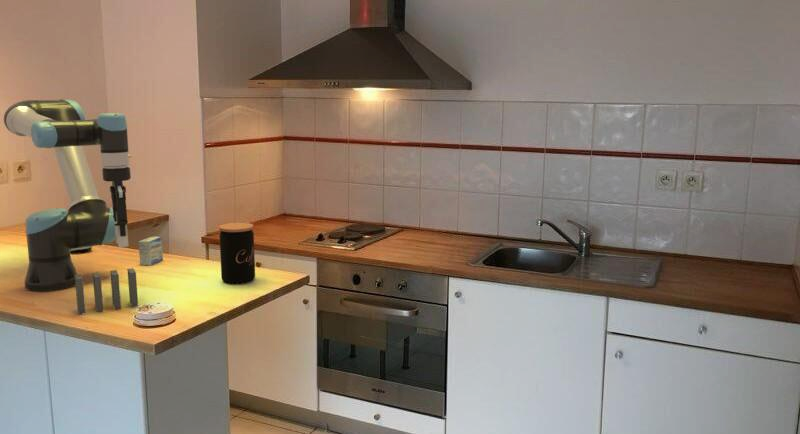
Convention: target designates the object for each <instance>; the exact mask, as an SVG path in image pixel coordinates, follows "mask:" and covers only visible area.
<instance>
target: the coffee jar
mask: <svg viewBox="0 0 800 434" xmlns="http://www.w3.org/2000/svg"><path fill="white" fill-rule="evenodd" d="M253 229H254V224H252V223H249V222H229V223H223V224H221V225H219V231H220V232H219V248H220V249H219V250H220V251H219V252H220V256H219V257H220V272H221V274H220V275H221V280H222V281H223V283H225V284H227V285H238V286H239V285H245V284H249V283H252V282H253V281H254V279H255V278H256V262H255V257H256V256H255V236H254V235H255V234H254V231H253Z"/></svg>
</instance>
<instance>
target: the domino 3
mask: <svg viewBox="0 0 800 434" xmlns="http://www.w3.org/2000/svg"><path fill="white" fill-rule="evenodd" d="M109 272H110V284H111V285H110V286H111V298H112V305H113V308H114V310H121V309H122V302H121V290H120V278H119V273H118V271H117V269H115V270H110V271H109Z"/></svg>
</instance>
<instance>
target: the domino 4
mask: <svg viewBox="0 0 800 434" xmlns="http://www.w3.org/2000/svg"><path fill="white" fill-rule="evenodd" d="M126 271H127V283H128V296H129V304H130V305H131V307H132V308H135V307H139V298H138V285H137V284H138V283H137V272H136V270H135V268H134V267H131V268H127V270H126Z"/></svg>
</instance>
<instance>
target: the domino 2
mask: <svg viewBox="0 0 800 434" xmlns="http://www.w3.org/2000/svg"><path fill="white" fill-rule="evenodd" d="M101 278H102V277H101V273H100V272H99V271H97V272H92V281H93V283H92V285H93V294H94V305H95V310H96V312H97V313H99V312H104V303H103V291H102V279H101Z"/></svg>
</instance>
